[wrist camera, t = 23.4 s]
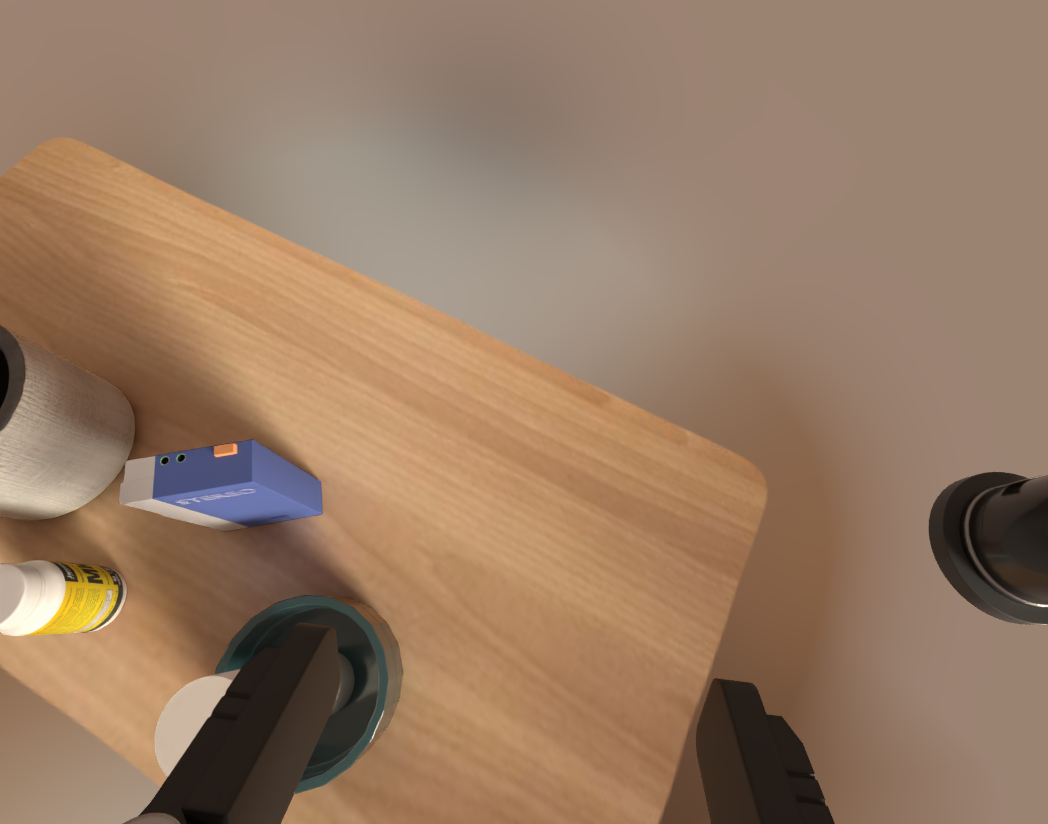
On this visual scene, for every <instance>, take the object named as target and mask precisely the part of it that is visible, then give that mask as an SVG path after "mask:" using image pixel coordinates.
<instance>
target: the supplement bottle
mask: <svg viewBox="0 0 1048 824" xmlns="http://www.w3.org/2000/svg"><path fill="white" fill-rule="evenodd" d="M126 593H127V587H126V583H125V580H124V578H123V576H122V575H121V574H120V573H119V572H118V571H116V570H114V569H112V568H109V567H103V566H93V565H83V564H74V563H64V562H53V561H43V560H35V561H28V562H25V563H0V633H2V634H5V635H11V636H27V635H44V634H65V633H85V632H92V631H96V630H98V629H101V628H103V627H105V626H106V625H108V624H109V623H110V622H111V621H113V620H114V619H115V617H116V616H117V615H118V614H119V612H120V611H121V609H122V607H123V605H124V602H125V599H126Z"/></svg>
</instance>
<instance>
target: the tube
mask: <svg viewBox="0 0 1048 824" xmlns="http://www.w3.org/2000/svg"><path fill="white" fill-rule="evenodd" d="M338 656H339V665H340V685H339V691H338V695H337V698H336V701H335V704H334V707H333V709H332V711H331V713H330V716H331V715H333V714H334V713H336V712H338V711H339V710H340V709H341V708H343V707H344V705H345V704H346V703H347V702H348V700H349V698H350V697H351V694H352V691H353V688H354V681H355V676H354V671H353V668H352V665H351V663H350V662H349V660H348V659H347V658H346V657H345V656H344V655H342V654H341V653H339V652H338ZM239 671H240V669H238V670H234V671H229V672H225V673H220V674H216V675H211V676H207V677H203V678H199V679H196V680H194V681H192V682H190V683H188V684H187V685H185V686H184V687H183V688H181V689H180V690H179V691H178V692H177V693H176V694H175V695H174V696H173V697H172V698H171V699H170V700H169V702H168V703H167V705H166V706H165V708H164V709H163V711H162V714H161V716H160V718H159V720H158V724H157V727H156V731H155V739H154V745H155V754H156V758H157V761H158V763H159V765H160V768H161V769H162V771H163V772H164V773H165V774H166V776H167V777H168V776H169V775H170V773H171V772H172V770H173V769H174V767H175V766H176V764H177V763H178V761H179V760H180V758H181V757H182V755H183V754H184V752H185V751H186V749H187V748H188V747H189V745H190V744H191V742H192V741H193V739H194V738H195V736H196V735H197V733H198V732H199V730H200V729H201V727H202V726H203V724H204V723H205V721H206V720H207V718H208V717H210V716H211V714H212V711H213V709H214V708H215V706H216V705H217V703H218V702H219V700H220V699H221V698H222V696H225V694H226V690H227V689H228V687H229V686H230V684H231V683H232V681H233V680H234V678H235V677H236V675H237V674H238V672H239Z"/></svg>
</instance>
